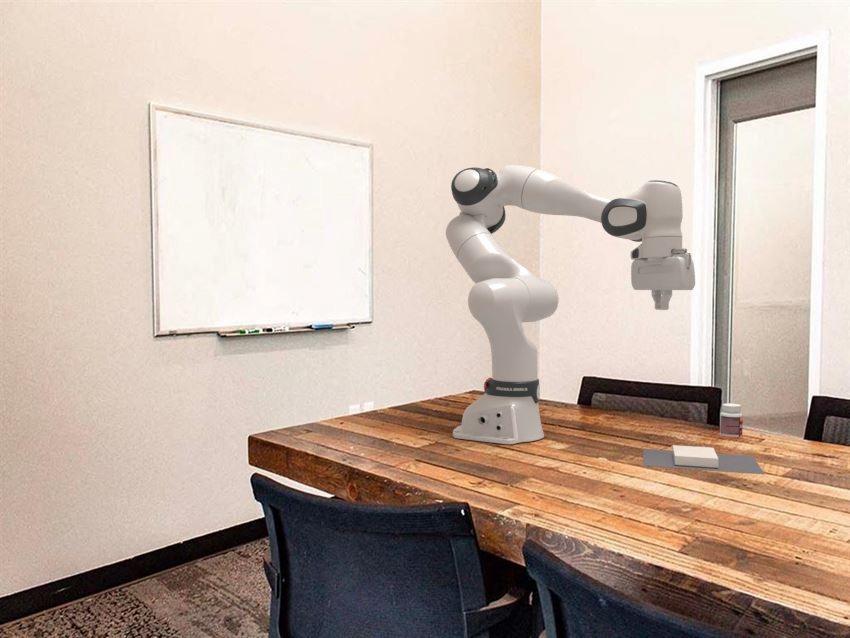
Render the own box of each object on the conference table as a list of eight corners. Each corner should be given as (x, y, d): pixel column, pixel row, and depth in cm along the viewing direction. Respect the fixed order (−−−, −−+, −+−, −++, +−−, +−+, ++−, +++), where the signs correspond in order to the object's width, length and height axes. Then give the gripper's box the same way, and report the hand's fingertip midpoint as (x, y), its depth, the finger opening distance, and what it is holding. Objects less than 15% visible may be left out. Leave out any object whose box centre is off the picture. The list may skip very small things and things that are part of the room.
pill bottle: (744, 442, 151) (745, 406, 150) (723, 441, 152) (723, 406, 151) (739, 437, 155) (739, 403, 155) (718, 436, 156) (718, 402, 156)
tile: (672, 454, 138) (674, 465, 130) (672, 445, 138) (675, 455, 130) (713, 457, 136) (718, 468, 127) (713, 447, 136) (718, 458, 127)
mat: (643, 468, 130) (643, 465, 130) (643, 451, 144) (643, 448, 144) (764, 477, 124) (764, 474, 124) (752, 458, 137) (752, 455, 137)
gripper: (702, 247, 141) (702, 311, 142) (649, 252, 161) (648, 308, 162) (677, 247, 140) (677, 311, 140) (626, 252, 160) (626, 308, 160)
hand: (661, 309), depth 151 cm, fingers closed
